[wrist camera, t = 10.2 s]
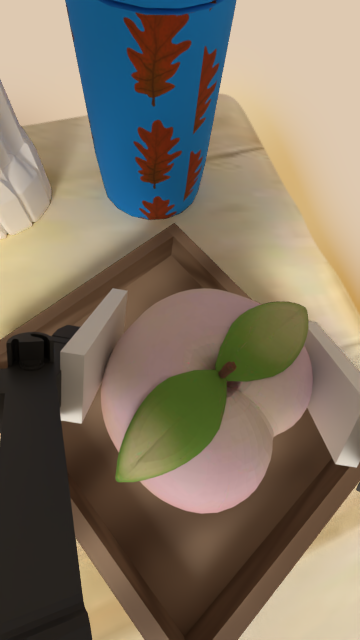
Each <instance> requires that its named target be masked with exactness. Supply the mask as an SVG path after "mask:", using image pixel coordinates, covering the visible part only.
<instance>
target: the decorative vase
mask: <svg viewBox="0 0 360 640" xmlns="http://www.w3.org/2000/svg"><path fill="white" fill-rule="evenodd" d="M51 190H52V189H51V186H50V183H49V180H48V178H47V175H46V173H45V170H44V168H43V165H42V163H41V160H40V158H39V155H38V153H37V150H36V148H35V146H34V144H33V143H32V141H31V140H30V138H29V137H28V135H27V134H26V132H25V131H24V129H23V128H22V127H21V126H20V125H19V123H18V120H17V118H16V116H15V113H14V111H13V108H12V106H11V104H10V101H9V99H8V97H7V94H6V92H5V89H4V87H3V85H2V82H1V80H0V239H4V238H6V236H7V233H8V234H10V235H16V234H18V233H20V232H22V231H24V230H25V229H27V228H29V227H31V226H32V222H37V221H38V220H39V219H40V217H41V216H42V215H43V214H44V212H45V211H46V209H47V208H48V206H49V205H50V201H49V200H51Z"/></svg>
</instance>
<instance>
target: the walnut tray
mask: <svg viewBox="0 0 360 640" xmlns="http://www.w3.org/2000/svg"><path fill="white" fill-rule="evenodd" d="M113 288H114V289H120V290H126V291H128V292H127V303H126V313H125V324H124V332H125V331H126V330H127V329H128V328H129V327H130V326H131V325H132V324H133V323H134V322H135V321H136V320H137V319H138V318H139V317H140V316H141V315H142V314H143V313H144V312H145V311H146V310H147V309H148V308H150V307H151V306H152V305H154V304H155V303H157V302H159V301H160V300H162V299H164V298H166V297H168V296H171V295H173V294H176V293H179V292H183V291H187V290H192V289H202V288H206V289H218V290H223V291H227V292H230V293H233V294H237V295H240V296H243V297H246V298H248V299H251V298H250V297H248V296H247V295H246V294H245V293H244V292H243V291H242V290H241V289H240V288H239V287H238V286H237V285H236V284H235V283H234V282H233V281H232V280H231V279H230V278H229V277H228V276H227V275H226V274H225V273H224V272H223V271H222V270H221V269H220V268H219V267H218V266H217V265H216V264H215V263H214V262H213V261H212V260H211V259H210V258H209V257H208V256H207V255H206V254H205V253H204V252H203V251H202V250H201V249H200V248H199V247H198V246H197V245H196V244H195V243H194V242H193V241H192V240H191V239H190V238H189V237H188V236H187V235H186V234H185V233H184V232H183V231H182V230H181V229H180V228H179V227H178V226H177V225H176V224H175V223H174V224H172V225H171V226H169V227H168V228H166V229H165V230H163V231H162V232H160V233H159V234H157V235H156V236H154V237H153V238H151V239H150V240H148V241H147V242H145V243H144V244H142V245H141V246H139V247H138V248H136V249H135V250H133V251H132V252H130V253H129V254H127V255H126V256H124V257H123V258H122V259H120V260H119V261H117V262H116V263H114V264H113V265H111V266H110V267H108V268H107V269H105V270H104V271H102V272H101V273H99V274H98V275H96V276H95V277H93V278H92V279H90V280H89V281H87V282H86V283H84V284H83V285H81V286H80V287H78V288H77V289H75V290H74V291H72V292H71V293H69V294H68V295H66V296H65V297H63V298H62V299H60V300H59V301H57V302H56V303H54V304H53V305H52V306H50V307H49V308H47V309H46V310H44V311H43V312H41V313H40V314H38V315H37V316H35V317H34V318H32V319H31V320H29V321H28V322H26V323H25V324H23V325H22V326H20V327H19V328H17V329H16V330H14V331H13V332H11V333H10V334H8V335H7V336H5V337H4V338H2V339H1V340H0V369H5V368H8V362H7V348H6V342H7V341H8V339H9V338H11V337H12V336H14V335H17V334H20V333H26V332H40V333H45V334H48V335H49V336H52V335H53V333H54V332H55V331H56V330H57V329H59V328H61V327H64V326H66V325H72V326H78V327H81V326H82V325H83V324H84V322H85V321H86V320H87V319H88V318H89V316H90V315H91V314H92V313H93V311H94V310H95V309H96V308H97V307H98V305H99V304H100V303H101V302H102V301H103V299H104V298H105V297H106V296H107V295H108V293H109V292H110V291H111V290H112V289H113ZM251 300H252V299H251ZM101 387H102V383H101V385H100V387H99V389H98V391H97V393H96V395H95V397H94V399H93V401H92V403H91V406H90V408H89V410H88V412H87V414H86V416H85V418H84V420H83V422H82V424H80V423H74V422H68V421H61V424H62V432H63V440H64V449H65V457H66V465H67V473H68V481H69V489H70V498H71V506H72V514H73V522H74V530H75V537H76V539H77V540H78V542H79V543H80V545H81V546H82V548H83V549H84V551H85V552H86V554H87V555H88V557H89V558H90V560H91V561H92V563H93V564H94V566H95V567H96V569H97V570H98V572H99V573H100V575H101V576H102V577H103V579H104V580H105V582H106V583H107V585H108V586H109V588H110V589H111V591H112V592H113V594H114V595H115V597H116V598H117V600H118V601H119V603H120V604H121V606H122V607H123V609H124V610H125V612H126V613H127V614H128V616H129V617H130V619H131V620H132V622H133V623H134V625H135V626H136V628H137V629H138V631H139V632H140V634H141V635H142V637H143V638H144V640H238V639H239V637H240V636H241V635H242V633H243V632H244V631H245V629H246V628H247V627H248V626H249V624H250V623H251V622H252V620H253V619H254V618H255V616H256V615H257V614H258V613H259V611H260V610H261V609H262V607H263V606H264V605H265V603H266V602H267V601H268V600H269V598H270V597H271V596H272V594H273V593H274V592H275V590H276V589H277V588H278V586H279V585H280V584H281V583H282V581H283V580H284V579H285V577H286V576H287V575H288V573H289V572H290V571H291V570H292V568H293V567H294V566H295V564H296V563H297V562H298V560H299V559H300V558H301V557H302V555H303V554H304V553H305V551H306V550H307V549H308V547H309V546H310V545H311V544H312V542H313V541H314V540H315V538H316V537H317V536H318V534H319V533H320V532H321V530H322V529H323V528H324V527H325V525H326V524H327V523H328V521H329V520H330V519H331V517H332V516H333V515H334V514H335V512H336V511H337V510H338V508H339V507H340V506H341V504H342V503H343V502H344V501H345V499H346V498H347V497H348V495H349V494H350V493H351V491H352V490H353V489H354V488H355V486H356V485H357V484H358V482H359V481H360V462H359V464H358V466H357V468H356V467H350V466H344V465H337V464H335V462H334V460H333V458H332V456H331V454H330V452H329V450H328V448H327V446H326V444H325V442H324V440H323V438H322V436H321V434H320V432H319V430H318V428H317V426H316V424H315V422H314V420H313V418H312V416H311V414H310V412H309V410H308V408H306V410H305V412H304V413H303V415H302V417H301V418H300V419H299V420H298V421H297V422H296V423H295V424H294V425H293V426H292V427H291V428H289V429H287V430H286V431H284V432H282V433H280V434H278V435H276V436H275V437H273V444H272V455H271V460H270V463H269V465H268V468H267V471H266V473H265V475H264V477H263V479H262V481H261V482H260V484H259V485H258V487H257V489H256V490H255V491H254V492H253V493H252V494H251V495H250V496H249V497H248V498H247V499H245V500H243V501H242V502H240V503H239V504H237V505H236V506H234V507H232V508H229V509H226V510H223V511H221V512H218V513H203V514H200V513H195V512H189V511H185V510H182V509H180V508H177V507H174V506H172V505H170V504H168V503H166V502H164V501H163V500H161V499H160V498H158V497H157V496H155V495H154V494H152V493H151V492H150V491H149V490H148V489H147V488H146V487H145V486H144V485H143V484H142V483H141V482H140V481H137V482H117V481H116V479H115V475H116V467H117V459H118V454H119V452H118V450H117V449H116V447H115V445H114V443H113V442H112V440H111V438H110V436H109V433H108V431H107V428H106V425H105V422H104V418H103V413H102V406H101Z"/></svg>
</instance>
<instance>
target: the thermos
mask: <svg viewBox="0 0 360 640" xmlns="http://www.w3.org/2000/svg"><path fill="white" fill-rule="evenodd" d="M65 2H66V7H67V12H68V16H69V22H70V27H71V32H72V37H73V42H74V47H75V52H76V57H77V62H78V67H79V72H80V77H81V83H82V87H83V93H84V98H85V103H86V108H87V113H88V118H89V123H90V128H91V133H92V138H93V143H94V148H95V153H96V157H97V161H98V165H99V168H100V172H101V176H102V180H103V184H104V187H105V190H106V193H107V196H108V198H109V199H110V200H111V201H112V202H113V203H114V205H115V206H116V207H117V208H118V209H120V210H122V211H124V212H126V213H127V214H129V215H131V216H134V217H138V218H143V219H148V220H153V219H166V218H169V217H171V216H174V215H177V214H179V213H181V212H183V211H184V210H185V209H186V208H187V207H188V206H189V205H191V204H192V202H193V200H194V198H195V196H196V194H197V192H198V189H199V185H200V181H201V177H202V173H203V169H204V166H205V161H206V156H207V151H208V146H209V140H210V135H211V130H212V125H213V120H214V114H215V109H216V104H217V99H218V93H219V88H220V83H221V77H222V72H223V67H224V62H225V57H226V52H227V46H228V41H229V36H230V31H231V26H232V20H233V15H234V10H235V5H236V0H65Z"/></svg>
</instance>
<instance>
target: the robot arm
mask: <svg viewBox="0 0 360 640" xmlns="http://www.w3.org/2000/svg"><path fill="white" fill-rule="evenodd" d="M127 292H128V291H126V290H120V289H114V288H113V289H112V290H111V291H110V292H109V293H108V295H107V296H106V297H105V298H104V299H103V301H102V302H101V303H100V304H99V305H98V307H97V308H96V309H95V310H94V311H93V313H92V314H91V315H90V316H89V318H88V319H87V320H86V321H85V322H84V324H83V325H82V326H81V327H78V326H72V325H66V326H64V327H61V328H59V329H57V330H56V331H55V332H54V333H53V335H52V336H49V335H48V334H45V333H40V332H26V333H20V334H17V335H14V336H12V337H11V338H9V339H8V341H7V342H6V348H7V362H8V368H5V369H0V433H1V439H0V640H92V635H91V628H90V622H89V618H88V613H87V611H86V609H85V607H84V602H83V595H82V587H81V579H80V571H79V563H78V555H77V547H76V538H75V530H74V522H73V514H72V506H71V498H70V489H69V481H68V473H67V465H66V457H65V449H64V440H63V432H62V424H61V421H68V422H74V423H80V424H82V422H83V420H84V418H85V416H86V414H87V412H88V410H89V408H90V406H91V403H92V401H93V399H94V397H95V395H96V393H97V391H98V389H99V387H100V385H101V383H102V380H103V375H104V371H105V368H106V365H107V362H108V360H109V358H110V355H111V353H112V351H113V349H114V347H115V345H116V343H117V342H118V340H119V339H120V337H121V336H122V335H123V334H124V324H125V313H126V303H127ZM304 346H305V348H306V350H307V352H308V354H309V357H310V361H311V364H312V374H313V385H312V394H311V397H310V401H309V404H308V406H307V408H308V410H309V412H310V414H311V416H312V418H313V420H314V422H315V424H316V426H317V428H318V430H319V432H320V434H321V436H322V438H323V440H324V442H325V444H326V446H327V448H328V450H329V452H330V454H331V456H332V458H333V460H334V462H335V464H337V465H344V466H350V467H356V468H357V466H358V464H359V462H360V371H359V370H358V369H357V368H356V367H355V366H354V365H353V363H352V362H351V361H350V360H349V359H348V358H347V357H346V355H345V354H344V353H343V352H342V351H341V350H340V349H339V347H338V346H337V345H336V344H335V343H334V342H333V341H332V340H331V338H330V337H329V336H328V335H327V334H326V333H325V332H324V330H323V329H322V328H321V327H320V326H319V325H318V324H317V323H316V322H312V321H308V333H307V338H306V341H305V344H304ZM356 490H357V491H359V492H360V482H359V484H358V486H357V488H356Z"/></svg>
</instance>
